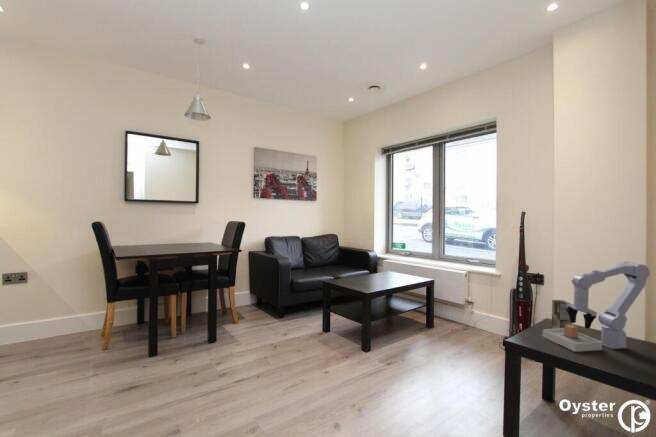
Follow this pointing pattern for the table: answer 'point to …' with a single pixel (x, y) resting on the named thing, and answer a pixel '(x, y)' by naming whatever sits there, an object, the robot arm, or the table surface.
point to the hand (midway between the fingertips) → (580, 325)
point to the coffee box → (560, 314)
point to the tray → (570, 344)
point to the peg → (571, 331)
